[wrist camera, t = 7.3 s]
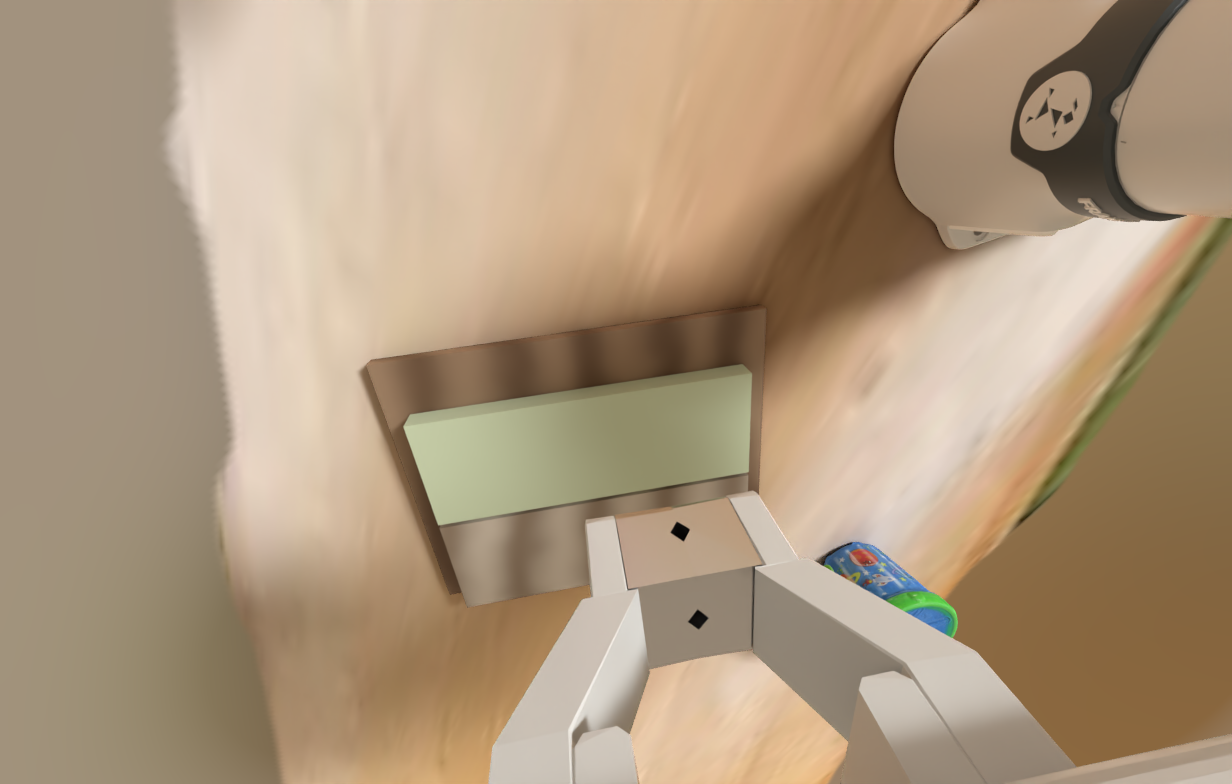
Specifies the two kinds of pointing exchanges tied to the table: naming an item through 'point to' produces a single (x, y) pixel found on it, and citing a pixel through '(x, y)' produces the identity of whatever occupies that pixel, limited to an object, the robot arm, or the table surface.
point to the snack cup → (892, 585)
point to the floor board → (554, 536)
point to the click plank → (582, 443)
